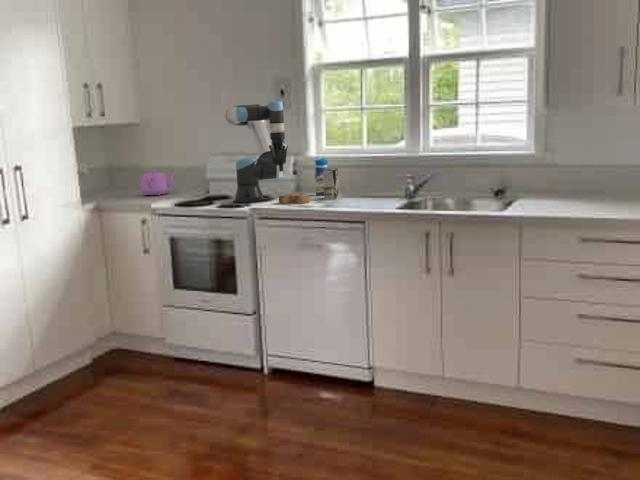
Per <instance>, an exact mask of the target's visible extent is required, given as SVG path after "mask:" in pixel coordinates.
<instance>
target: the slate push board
mask: <svg viewBox="0 0 640 480" xmlns="http://www.w3.org/2000/svg"><path fill="white" fill-rule="evenodd" d="M332 204H333V202H329V201H324V200H323V201H321V200H313V199H309V203H307V204H296V203H288V204H280V203H279V202H276V203H275V205H280V206H286V207H287V206H288V207H294V208H303V209H311V208H315V207H316V208H317V207H321V206H325V205H332Z"/></svg>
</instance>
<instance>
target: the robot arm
mask: <svg viewBox="0 0 640 480" xmlns="http://www.w3.org/2000/svg"><path fill="white" fill-rule="evenodd" d="M283 104H284V103H283V102H282V101H281V100H277V101H276V100H275V101H269V102H268V103H267V105H264V104H262V103H255V104H241V105H240V104H239V105H234V106H231V107H228V108H227V110H226V112H225V119H226V121H227V122H228V123H229V124H230V125H233V126H238V127H241V126H247V129H248V130H250V131H251V133H252V135H253V139H254V143H255V145H256V149H257V153H258V155H259V156H258V157H257V156H255V155H251V156H246V157H241V158H239V159H237V160H236V161H235V170H236V171H235V173H236V184H237V188H236V193H235V196H234V199H235V202H236V203H252V202H253V203H254V202H260V201H263V200H264V195H263V192H262V190H261V187H260V181H265V180H274V179H275V180H277V179H282V178H284V175H285V170H286V169H285V168H286V166H285V164H286V163H287V152H288V151H287V150H288V148H289V145H286V144H285V141H284V140H285V139H286V136H285V135H286V134H285V121H284V120H285V119H284V105H283ZM267 124H269V132H270V133H269V132H268V127H267Z"/></svg>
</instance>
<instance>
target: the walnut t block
mask: <svg viewBox="0 0 640 480" xmlns="http://www.w3.org/2000/svg"><path fill="white" fill-rule="evenodd" d="M309 200H310V195H309V194H304V192H299V191H296V192H293V193H286V194H280V195H278V203H280V204H288V203H296V204H307V203H309Z"/></svg>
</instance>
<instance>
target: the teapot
mask: <svg viewBox="0 0 640 480" xmlns="http://www.w3.org/2000/svg"><path fill="white" fill-rule="evenodd" d="M176 172H178V170H174V171H171V173H170V176H169V179H168V177H167V174H166V173H165V172H161V171H160V172H157V169H151V170H150V172H149V173H148V172H147V173H144V174H143V176H142V179H141V183H140V192H141V193H142V195H144V196H147V195H151V196H154V195H156V196H160V195H159V194H162V195H163V194H164V195H165V194H168V193H169V192H170V189H171V187H172V186H173V183H174V177H175V173H176Z"/></svg>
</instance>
